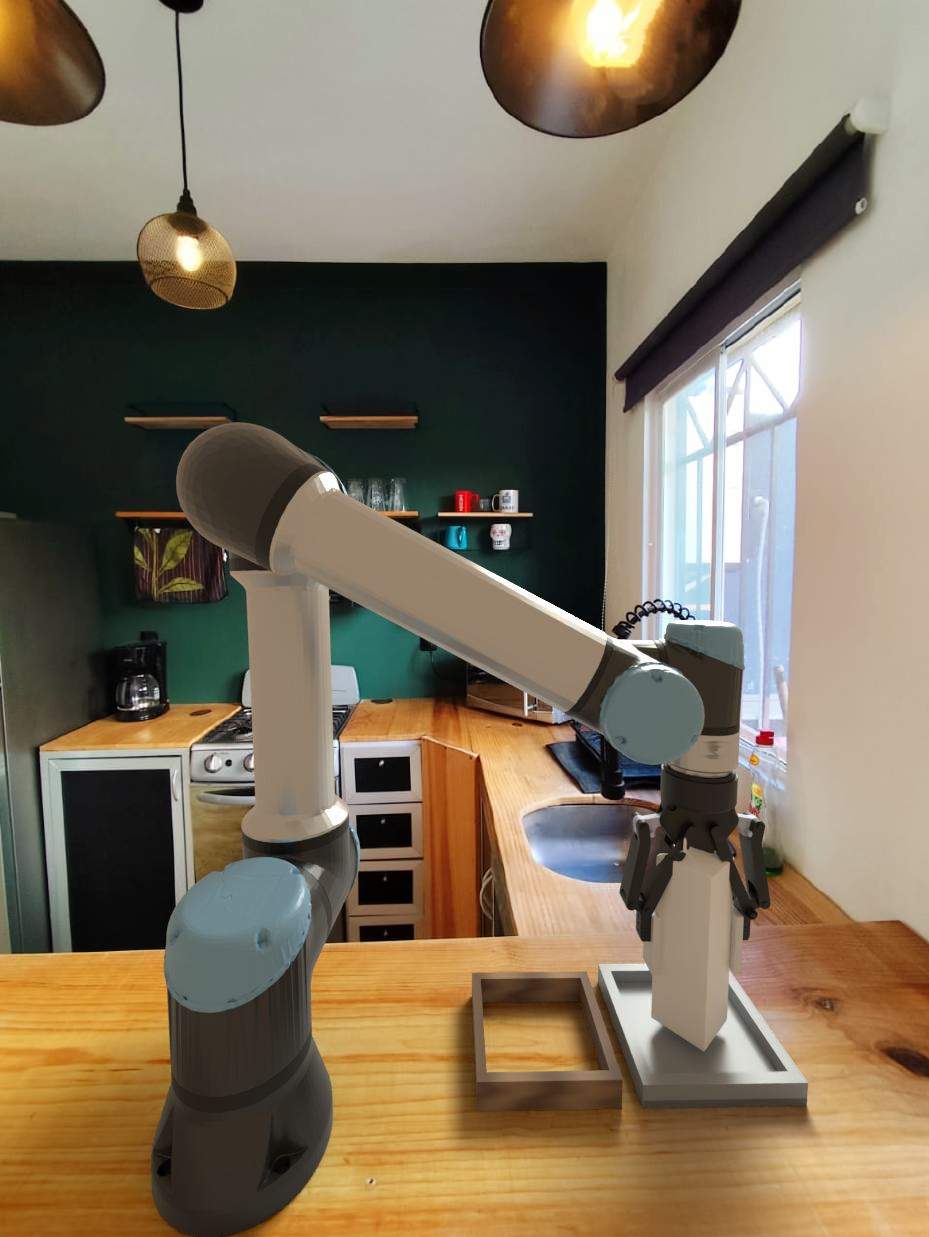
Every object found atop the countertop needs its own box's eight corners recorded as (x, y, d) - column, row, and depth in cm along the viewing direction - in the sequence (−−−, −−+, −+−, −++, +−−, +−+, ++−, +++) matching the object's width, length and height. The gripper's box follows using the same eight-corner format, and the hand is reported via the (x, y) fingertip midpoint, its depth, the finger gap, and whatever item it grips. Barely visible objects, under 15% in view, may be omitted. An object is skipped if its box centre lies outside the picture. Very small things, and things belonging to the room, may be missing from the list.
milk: (727, 1020, 59) (738, 829, 57) (703, 1053, 55) (714, 848, 53) (674, 989, 63) (682, 810, 62) (648, 1017, 59) (657, 826, 58)
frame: (476, 1111, 51) (476, 1082, 51) (471, 995, 65) (472, 972, 65) (622, 1108, 51) (622, 1079, 51) (586, 994, 65) (586, 971, 65)
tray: (642, 1108, 51) (643, 1085, 51) (598, 981, 67) (598, 963, 67) (806, 1105, 52) (808, 1082, 51) (723, 980, 67) (724, 962, 67)
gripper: (611, 778, 53) (605, 993, 55) (820, 778, 53) (807, 990, 55) (591, 753, 60) (587, 943, 62) (775, 753, 61) (765, 941, 63)
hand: (690, 965), depth 59 cm, fingers closed on milk, 8 cm apart
